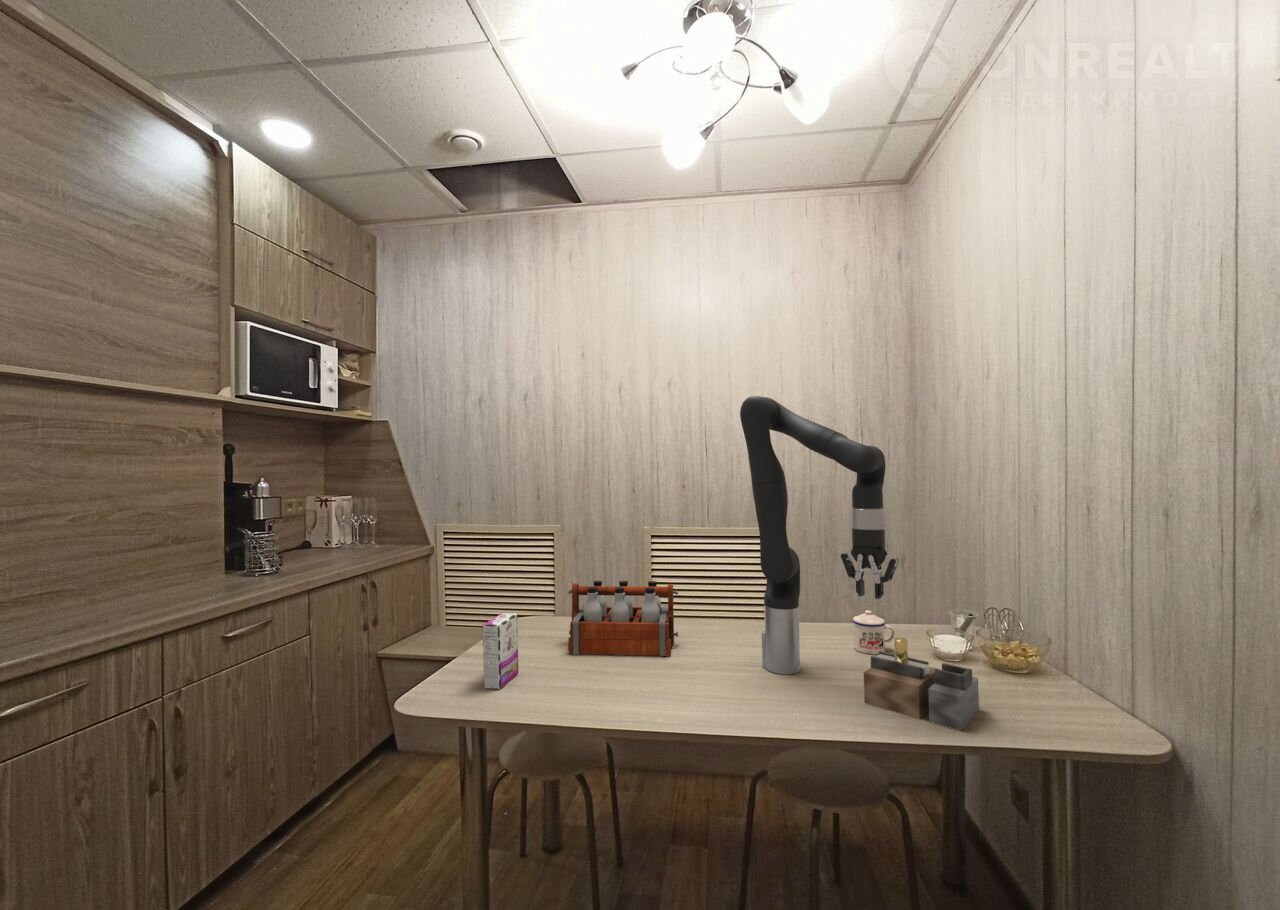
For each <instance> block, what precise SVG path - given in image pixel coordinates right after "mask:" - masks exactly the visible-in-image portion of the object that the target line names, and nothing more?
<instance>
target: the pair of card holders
mask: <svg viewBox="0 0 1280 910" xmlns="http://www.w3.org/2000/svg"><path fill="white" fill-rule="evenodd" d="M879 654H883V655H888V656H892V657H895V653H890V652H886V651H885V652H882V651H880V652H879ZM879 654H878V655H879ZM908 660H910V661H914V662H919V663H923V664H927V665H929V674H928V675H927V676H926V677H922V671H921V667H918V666H913V665H909V664H905V663H900V662H896V661H892V660H888V659H883V658H879V657H876V655H875V656H873V655H872V656H871V655H870V667H869V668H868V669H867V670H865V671H863V697H864V698H863V699H864V700H863V701H864V702H865V704H868V705H871V706H875V707H879V708H882V709H885V710H889V711H891V710H892V711H891V712H895V711H896V713H898V712H899V714H901V713H903V714H902V715H905V714H906V715H905V716H908V715H909V717H912V718H916V719H918V718H919V720H920V719H921V718H922V717H924V715H925V714H927V712H928V714H929V715H928V719H929V721H930V722H929V723H932V722H934V723H933V724H935V723H937V724H936V725H939V724H940V725H939V726H942V725H944V726H943V727H945V726H947V727H946V728H949V727H951V728H950V729H952V728H954V729H953V730H955V729H957V730H956V731H959V730H960V731H959V732H961V731H962V730H963V729H964V728H965V727H966V726H965V725H968V723H969V722H970V721H971V720H972V718H974V716H975V715H976V714H977V712H978V711H979V710H980V698H979V692H980V691H979V678H978V677H976V676H973V669H972V668H968V667H963V666H958V665H955V664H950V663H947V662H946V663H945V662H943V663H941V669H939V668H936V667H931V666H930V663H929V661H926V660H923V659H918V658H913V657H909V656H908ZM978 709H979V710H978ZM975 713H976V714H975ZM974 714H975V715H974ZM973 715H974V716H973ZM970 719H971V720H970ZM969 720H970V721H969ZM968 721H969V722H968ZM967 722H968V723H967ZM964 726H965V727H964ZM963 727H964V728H963Z"/></svg>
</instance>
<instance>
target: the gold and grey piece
mask: <svg viewBox="0 0 1280 910" xmlns="http://www.w3.org/2000/svg"><path fill="white" fill-rule="evenodd" d="M893 642H894V644H893V645H894V654H895V657H892V656H888V655H883V654H876V655H875V657H879V658H883V659H888V660H892V661H896V662H900V663H905V664H909V665H913V666H918V667H921V671H922V677H926V676H927V675H928V674H929V667H930V664H929V665H927V664H923V663H919V662H914V661H910V660H908V657H909V649H908V648H909V647H908V646H909V645H908V639H907V638H904V637H894V639H893Z"/></svg>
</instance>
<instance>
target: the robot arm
mask: <svg viewBox="0 0 1280 910" xmlns="http://www.w3.org/2000/svg"><path fill="white" fill-rule="evenodd" d="M739 410H740V411H739V417H740V423H741V426H742V431H743V434H744V440H745V444H746V449H747V456H748V465H749V469H750V470H749V471H750V476H751V477H750V479H751V488H752V495H753V500H754V501H753V502H754V507H755V516H756V521H757V526H758V532H759V551H760V552H759V556H760V563H759V564H760V569H761V572H762V574H763V575H764V577H765V578H766V588H765V592H764V597H763V604H764V605H763V606H764V607H763V608H764V609H763V610H764V615H763V616H764V631H762V632H761V661H762V663H761V664H762V665H761V666H762V668H765V669H766V670H767V671H768V672H772V673H774V674H778V675H794V674H797V673H799V672H800V671H801V649H800V647H801V643H800V637H801V636H800V604H799V603H800V601H799V600H800V596H801V595H800V594H801V564H800V563H801V562H800V557H799V555H798V554H797V551H796V550H794V549H793V548H791V547H790V545H789V541H788V534H787V517H788V506H789V504H788V503H789V502H788V501H789V498H788V497H789V496H788V488H787V479H786V475H785V472H784V471H785V470H784V468H783V466H782V464H781V463H780V460H779V458H778V457H777V454H776V453H775V450H774V448H773V445H772V440H771V432H770V430H771V431H775V432H777V433H781V434H784V435H786V436H789V437H790V438H793V439H794V440H796V441H797V442H798V443H800V444H801V445H802V446H804V447H806V448H807V449H809V450H811V451H812V452H815V453H817V454H819V455H821V456H823V457H825V458H827V459H830V460H833V461H835V463H837V464H839V465H840V466H843V467H844V468H846V469H848V470H849V471H851V472H854V473H856V483H855V485H854V486H853V487H852V490H851V497H852V498H851V501H852V502H851V504H852V510H851V545H852V549H851V550H850V552H844V553H841V554H840V558H841V561H842V565H843V567H844V568H845V571H846V574H847V576H848V578H852V579H854V580H855V592H856V593H857V595H858V597H863V596H865V591H866V590H865V589H866V588H865V579H864V578H865V574H866V573H865V572H866V571H867V569H870V570H871V572H872V573H871V574H872V575H873V578H874V581H875V583H874V597H875V598H874V599H876V600H880V599H882V597H883V596H884V594H885V593H884V592H885V591H884V590H885V588H884V584H885V583H887V582H890V581H892V580H893V577H894V574H895V573H896V569H897V567H898V564H899V562H900V561H899V558H898V557H892V556H890V555H889V554H888V552H887V550H886V521H885V519H886V517H885V513H884V493H883V487H884V482H885V474H886V456H885V454H884V453H883V451H882V450H881V449H880V448H879V447H877V446H873V445H866V444H863V443H860V442H857V441H855V440H852V439H850V438H848V436H846V435H845V434H843V433H841V432H839V431H836V430H834V429H832V428H829V427H827V426H825V425H822V424H819V423H817V422H814V421H812V420H810V419H807V418H805V417H803V416H801V415H798V414H796V413H795V412H793V411H792V410H790V409H788V408H787V407H785V406H783V405H782V404H781V403H779V402H777V400H774V399H773V398H771V397H768V396H760V395H759V396H758V395H753V396H749V397H747V398H746V399H745V400H743V402H742V404H741V407H740V409H739ZM853 559H854V561H855V562H856V566H855V565H854V563H853ZM884 562H886V565H887V567H886V569H885V572H884V569H883V563H884Z"/></svg>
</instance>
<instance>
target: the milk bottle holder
mask: <svg viewBox="0 0 1280 910" xmlns="http://www.w3.org/2000/svg"><path fill="white" fill-rule="evenodd" d="M657 583H658V582H657V581H656V580H649V581H647V586H633V585H632V586H629V581H628V580H620V581H619V582H618V584H619V585H618V586H616V585H615V586H612V585H611V586H610V585H609V586H608V585H605V586H604V585H603V580H593V585H580V584H579V583H572V584H571V589H569V590H568V592H567V594H569V595H571V621H570V624H569V631H568V634H569V635H570V636H569V637H568V639H567V641H568V646H567V647H568V648H567V649H568V650H567V651H568V652H567V653H568V654H569V653H571V654H570V655H573V654H579V655H604V654H617V655H616V656H652V655H655V656H656V657H657V656H659V657H660V656H666V657H671V655H672V649H671V647H673V646H674V645H675V637H679V632H678V631H676V632H675V628H674V627H675V619H674V618H675V616H674V594H675V595H679V592H678V590H677V589H675V590H674V584H673V583H668V584H667V586H658V584H657ZM580 596H587V602H586V603H585V605H582V606H581V608H580ZM605 596H614V602H613V603H612V606H611V605H610V606H608V604H607V603H608V602H607V599H606V597H605ZM631 596H633V597H635V596H636V597H637V596H641V597H642V596H643V597H645V599H644V602H643V604H642V606H634V605H633V600H632V598H631ZM660 597H667V603H668V604H663V605H662V600H661V599H660ZM673 648H674V647H673ZM618 654H619V655H618ZM621 654H622V655H621Z"/></svg>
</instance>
